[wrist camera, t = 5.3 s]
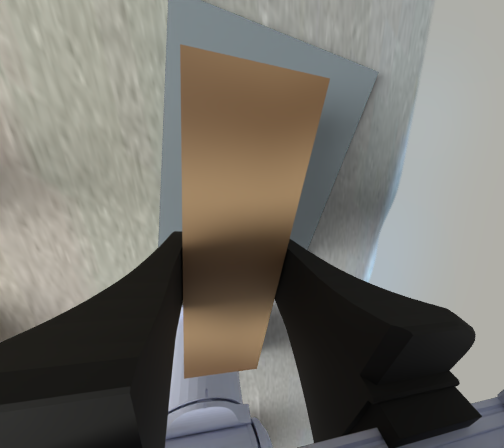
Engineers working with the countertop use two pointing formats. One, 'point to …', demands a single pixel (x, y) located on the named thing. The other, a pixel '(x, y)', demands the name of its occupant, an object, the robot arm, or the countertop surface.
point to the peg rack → (273, 53)
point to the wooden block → (238, 198)
